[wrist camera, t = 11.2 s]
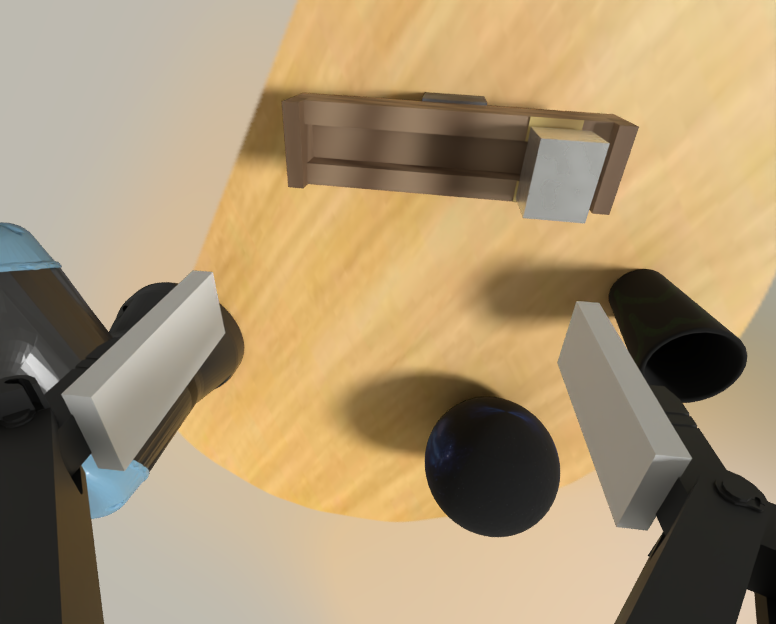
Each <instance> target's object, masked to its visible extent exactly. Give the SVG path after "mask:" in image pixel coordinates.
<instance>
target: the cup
mask: <svg viewBox="0 0 776 624" xmlns="http://www.w3.org/2000/svg"><path fill="white" fill-rule="evenodd" d="M609 302H610V305H611V308H612V310H613V313H614V316H615V318H616V321H617V323H618V326H619V329H620V331H621V334H622V336H623V339H624V342H625V344H626V347H627V349H628V352H629V354H630V355H631V357H632V359H633V360H634V362H635V364H636V365H637V367H638V369H639V370H640V372H641V374H642V375H643V377H644V379H645V380H646V382H647V384H648V385H656V386H665V387H666V388H667V389H668V390H669V391H670V392H672V393H673V394H674V395H675V396H676V397H678V398H679V399H680V400H681V402H682V403H690V402H695V401H700V400H704V399H707V398H710V397H713V396H715V395H717V394H718V393H720V392H722V391H724V390H725V389H726V388H728V387H729V386H731V385H732V384H733V383H734V382H735V381H736V380H737V379H738V378H739V376H740V375H741V374H742V372H743V370H744V368H745V366H746V362H747V352H746V348H745V346H744V344H743V343H742V341H741V340H740V339H739V338H738V337H737V336H735V335H734V334H733V333H732V332H730V331H729V330H728V329H727V328H726V327H724V326H723V325H722V324H721V323H720V322H718V321H717V320H716V319H715V318H714V317H712V316H711V315H710V314H709V313H708V312H706V311H705V310H704V309H703V308H701V307H700V306H699V305H698V304H697V303H695V302H694V301H693V300H692V299H691V298H689V297H688V296H687V295H686V294H685V293H683V292H682V291H681V290H680V289H679V288H677V287H676V286H675V285H674V284H672V283H671V282H670V281H669V280H668V279H666V278H665V277H664V276H663V275H661V274H660V273H659V272H656V271H654V270H649V269H640V270H635V271H631V272H629V273H627V274H625V275H623V276H622V277H620V278H619V279H618V280H617V281H616V282H615V283H614V284H613V286H612V288H611V289H610V293H609Z"/></svg>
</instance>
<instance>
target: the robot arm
mask: <svg viewBox="0 0 776 624" xmlns="http://www.w3.org/2000/svg"><path fill="white" fill-rule="evenodd" d="M60 267H62V266H61V265H60V263H59V262H56V261H54V260H53V259H52V257H51V256H50V255H49V254H48V253H47V252H46V251H45V249H44V248H43V247H42V246H41V245H40V244H39V242H38V241H37V240H36V239H35V238H34V236H33V235H32V234H31V233H30V232H29V231H27V230H26V229H24V228H22V227H21V226H18V225H15V224H11V223H0V624H104V620H103V611H102V603H101V595H100V587H99V579H98V571H97V562H96V554H95V547H94V538H93V530H92V522H91V519H94V518H100V517H104V516H107V515H109V514H112V513H113V512H115V511H117V510H118V509H120V508H121V507H122V506H123V505H124V504H125V503H126V502H127V501H128V499H129V498H130V497H131V495H132V494H133V493H134V491H135V490H136V489H137V488H138V487H139V486H140V484H141V483H142V482H143V481H145V480H146V479H147V478H148V475H149V472H150V470H151V469H152V468H153V466H154V464H155V463H156V462H157V460H158V459H159V457H160V456H161V454H162V453H163V451H164V450H165V448H166V447H167V445H168V443H169V442H170V441H171V439H172V438H173V436H174V435H175V433H176V432H177V430H178V429H179V428H180V426H181V425H182V423H183V422H184V420H185V419H186V417H187V416H188V414H189V413H190V411H191V410H192V409H193V407H194V406H195V404H196V403H197V402H199V401H200V400H201V399H202V398H204V397H205V396H206V395H207V394H209V393H210V392H211V391H213V390H214V389H216V388H218V387H220V386H222V385H223V384H224V383H226V382H227V381H228V380H229V379H230V378H231V377H232V376H233V374H234V373H235V371H236V369H237V368H238V366H239V365H240V363H241V361H242V358H243V355H244V341H243V337H242V334H241V331H240V329H239V327H238V325H237V323H236V322H235V320H234V319H233V317H232V316H231V315H230V313H229V312H228V311H227V310H226V309H225V308H224V307H223V306H222V305H221V304H219V300H218V295H217V290H216V285H215V281H214V276H213V272H206V271H192V272H191V273H190V274H189V275H187V277H185V278H184V279H183V280H182V281H181V282H180V283H179V284H178V283H169V282H166V283H165V282H164V283H163V282H162V283H155V284H151V285H148V286H145V287H143V288H142V289H140V290H139V291H137V292H136V293H135V294H134V295H133V296H131V297H130V298H129V299H128V300H127V301H126V302H125V303H124V304H123V305H122V307H121V308H120V310H119V312H118V314H117V318H116V320H115V321H114V323H113V325H112V327H111V329H110V331H109V332H108V331H107V329H106V328H105V327H104V325H103V324H102V323H101V322H100V320H99V319H98V318H97V316H96V315H95V314H94V313H93V311H92V310H91V309H90V307H89V306H88V305H87V303H86V302H85V301H84V299H83V298H82V297H81V295H80V294H79V292H78V291H77V290H76V288H75V287H74V286H73V284H72V283H71V282H70V280H69V279H68V277H67V276H66V275H65V273H64V272H63V271H62V269H61V268H60ZM557 363H558V366H559V369H560V371H561V374H562V377H563V380H564V383H565V385H566V388H567V391H568V394H569V396H570V399H571V402H572V405H573V408H574V410H575V413H576V416H577V419H578V422H579V424H580V427H581V430H582V433H583V435H584V438H585V441H586V444H587V447H588V449H589V452H590V455H591V458H592V461H593V463H594V466H595V469H596V472H597V474H598V477H599V480H600V483H601V486H602V488H603V491H604V494H605V497H606V499H607V502H608V505H609V508H610V511H611V513H612V516H613V519H614V522H615V525H616V527H622V528H631V529H639V530H648V529H649V527H650V526H651V524H652V522H653V520H654V519H655V518H656V516H657V518H658V521H659V523H660V525H661V527H662V530H663V533H662V535H661V536H660V538H659V539H658V541H657V542H656V544H655V545H654V547H653V548H652V550H651V551H650V553H649V554H648V556H649V558H648V560H647V562H646V564H645V566H644V568H643V570H642V572H641V574H640V576H639V578H638V580H637V581H636V583H635V585H634V587H633V589H632V591H631V593H630V595H629V597H628V599H627V600H626V602H625V604H624V606H623V608H622V610H621V612H620V614H619V616H618V618H617V620H616V622H615V623H614V624H736V622H737V619H738V615H739V612H740V609H741V606H742V602H743V599H744V596H745V593H746V590H747V589H748V590H750V591H753V592H754V593H755V606H756V618H757V624H776V505H775V504H773V503H770V502H768V501H767V499H766V498H765V496H764V494H763V493H762V492H761V491H760V490H758V488H757V487H756V486H755V485H753V484H752V483H751V482H749V481H748V480H746V479H745V478H743V477H742V476H740V475H737V474H735V473H732V472H730V471H728V470H726V468H725V467H724V465H723V464H722V462H721V461H720V459H719V458H718V456H717V455H716V453H715V452H714V450H713V449H712V447H711V446H710V444H709V443H708V441H707V440H706V438H705V437H704V435H703V434H702V432H701V431H700V429H699V428H697V425H696V423H695V422H694V420H693V418H692V417H691V416H689V412H688V411H687V410H686V408H685V406H684V405H683V403H682V402H681V400H680V399H679V398H678V397H676V396H675V395H674V394H673V393H672V392H670V391H669V390H668V389H667V388H666V387H665V386H656V385H648V384H647V382H646V380H645V379H644V377H643V375H642V374H641V372H640V370H639V369H638V367H637V365H636V364H635V362H634V360H633V359H632V357H631V355H630V354H629V352H628V350H627V349H626V347H625V345H624V344H623V342H622V340H621V339H620V337H619V335H618V334H617V332H616V330H615V328H614V327H613V325H612V323H611V322H610V320H609V318H608V317H607V315H606V313H605V312H604V310H603V308H602V307H601V305H600V303H595V302H583V301H576V305H575V308H574V311H573V314H572V317H571V321H570V324H569V327H568V330H567V333H566V337H565V340H564V343H563V346H562V349H561V353H560V356H559V359H558V362H557Z"/></svg>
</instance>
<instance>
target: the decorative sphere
mask: <svg viewBox="0 0 776 624" xmlns="http://www.w3.org/2000/svg"><path fill="white" fill-rule="evenodd" d="M425 472H426V477H427V481H428V485H429V488H430V490H431V493H432V495H433V497H434V499H435V500H436V502H437V504H438V505H439V506H440V508H441V509H442V510H443V511H444V513H445V514H446V515H447V516H448V517H449V518H451V519H452V520H453V521H454V522H455V523H457V524H459V525H460V526H461V527H463V528H465V529H466V530H468V531H471V532H473V533H476V534H479V535H484V536H489V537H506V536H512V535H515V534H518V533H521V532H524V531H526V530H527V529H529V528H531V527H532V526H534V525H535V524H537V523H538V522H539V521H540V520H541V519H542V518H543V517H544V516H545V514H546V513H547V512H548V511H549V509H550V507H551V506H552V504H553V502H554V500H555V497H556V494H557V491H558V488H559V482H560V463H559V457H558V453H557V449H556V447H555V444H554V442H553V440H552V438H551V436H550V434H549V432H548V431H547V429H546V428H545V427H544V425H543V424H542V423H541V422H540V421H539V420H538V419H537V418H536V416H534V415H533V414H532V413H531V412H529V411H528V410H527V409H525V408H524V407H522V406H520V405H518V404H516V403H514V402H511V401H509V400H505V399H501V398H495V397H480V398H474V399H470V400H467V401H464V402H462V403H460V404H458V405H456V406H454V407H453V408H451V409H450V410H449V411H447V412H446V413H445V414H444V415H443V416H442V417H441V418H440V420H439V421H438V422H437V424H436V425H435V427H434V428H433V430H432V432H431V434H430V437H429V439H428V442H427V447H426V452H425Z"/></svg>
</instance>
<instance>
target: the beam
mask: <svg viewBox="0 0 776 624" xmlns="http://www.w3.org/2000/svg"><path fill="white" fill-rule="evenodd" d="M282 111H283V124H284V137H285V150H286V163H287V176H288V187H293V188H304V187H305V186H306V185H307V184H315V185H327V186H339V187H350V188H362V189H373V190H385V191H397V192H408V193H420V194H432V195H443V196H455V197H467V198H478V199H490V200H502V201H513V202H517V201H516V194H517V190H518V185H519V180H520V175H521V171H522V166H523V161H524V157H525V152H526V147H527V142H528V138H529V133H530V128H531V127H545V128H558V129H572V130H586V131H592V132H594V133H595V134H597V135H598V136H600V137H601V138H602V139H604V140H605V141H607V142H608V143H610V144H609V147H608V151H607V154H606V157H605V160H604V163H603V167H602V170H601V173H600V176H599V180H598V183H597V186H596V189H595V192H594V196H593V199H592V202H591V205H590V209H589V210H590V211H591V213H593V214H605V215H609V214H610V211H611V208H612V205H613V202H614V199H615V196H616V193H617V190H618V187H619V184H620V181H621V178H622V175H623V172H624V169H625V166H626V164H627V161H628V158H629V155H630V152H631V149H632V146H633V143H634V140H635V137H636V134H637V131H638V128H639V127H638V126H636V125H634V124H632V123H630V122H628V121H626V120H624V119H622V118H620V117H618V116H616V115H614V114H600V113H586V112H572V111H557V110H543V109H529V108H514V107H500V106H487V101H486V99H485V97H484V96H470V95H455V94H441V93H426V92H425V94H424V96H423V98H422V101H414V100H399V99H385V98H370V97H356V96H342V95H327V94H313V93H301V94H299V95H296V96H294V97H291V98H289V99H286V100H284V101H282Z"/></svg>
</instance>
